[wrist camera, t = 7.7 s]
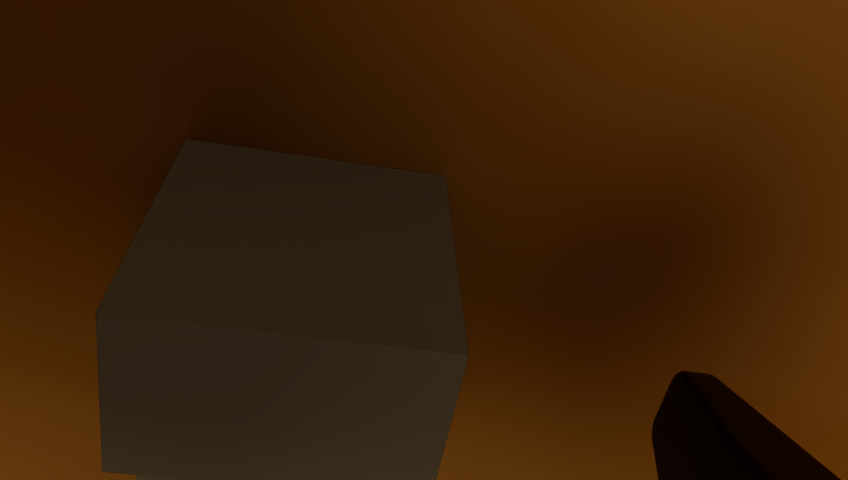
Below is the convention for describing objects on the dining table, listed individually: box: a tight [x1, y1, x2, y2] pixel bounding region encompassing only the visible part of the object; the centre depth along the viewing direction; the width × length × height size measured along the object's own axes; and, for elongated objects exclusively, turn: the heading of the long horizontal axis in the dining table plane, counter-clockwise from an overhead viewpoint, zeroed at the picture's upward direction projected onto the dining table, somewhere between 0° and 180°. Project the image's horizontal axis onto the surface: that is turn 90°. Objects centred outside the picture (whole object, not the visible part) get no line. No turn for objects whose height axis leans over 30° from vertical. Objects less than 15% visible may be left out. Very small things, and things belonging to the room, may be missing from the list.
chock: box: [96, 139, 469, 480], centre depth 12 cm, size 5×4×4 cm
